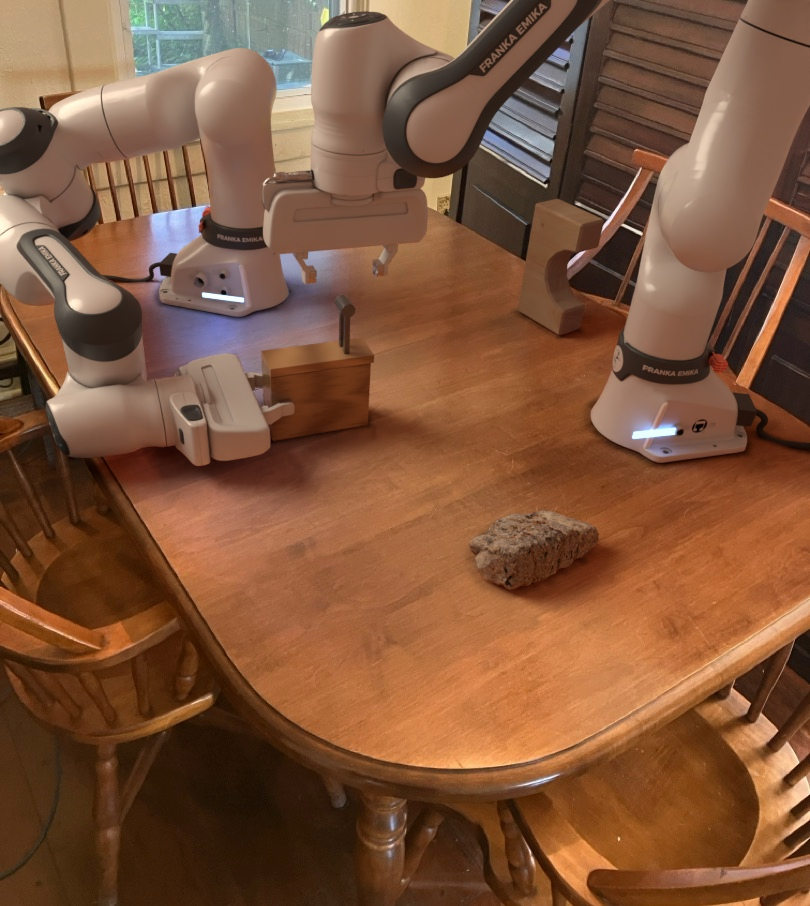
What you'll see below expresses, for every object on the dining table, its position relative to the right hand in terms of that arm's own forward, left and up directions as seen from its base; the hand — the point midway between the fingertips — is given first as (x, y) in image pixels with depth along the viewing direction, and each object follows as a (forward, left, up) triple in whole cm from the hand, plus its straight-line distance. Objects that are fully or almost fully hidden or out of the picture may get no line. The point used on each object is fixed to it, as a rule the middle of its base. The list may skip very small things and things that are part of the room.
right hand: (344, 278), depth 102 cm
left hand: (+7, +2, -16) cm, 18 cm away
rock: (-22, +28, -22) cm, 41 cm away
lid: (+3, +1, -12) cm, 12 cm away
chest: (+4, +1, -22) cm, 22 cm away
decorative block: (-38, -31, -22) cm, 53 cm away
